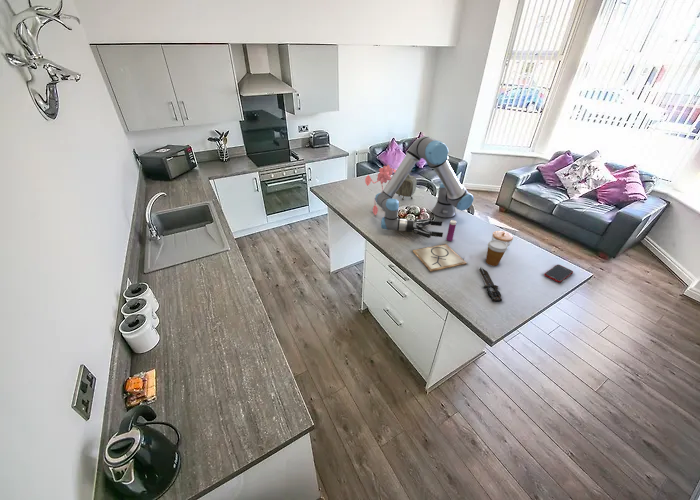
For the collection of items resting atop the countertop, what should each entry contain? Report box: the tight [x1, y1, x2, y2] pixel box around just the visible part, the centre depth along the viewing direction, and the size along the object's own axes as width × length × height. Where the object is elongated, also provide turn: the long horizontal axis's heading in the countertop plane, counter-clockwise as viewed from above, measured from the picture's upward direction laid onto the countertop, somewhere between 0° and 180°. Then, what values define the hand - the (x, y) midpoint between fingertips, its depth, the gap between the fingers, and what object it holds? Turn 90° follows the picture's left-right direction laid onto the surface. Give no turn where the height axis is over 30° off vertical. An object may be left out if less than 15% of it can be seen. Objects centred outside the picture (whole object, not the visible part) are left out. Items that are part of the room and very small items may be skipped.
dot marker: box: [446, 219, 457, 243], centre depth 172 cm, size 4×4×13 cm
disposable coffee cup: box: [485, 239, 509, 267], centre depth 153 cm, size 10×10×12 cm
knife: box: [478, 267, 503, 303], centre depth 141 cm, size 25×6×1 cm, turn 171°
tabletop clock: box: [395, 169, 418, 201], centre depth 219 cm, size 14×9×25 cm, turn 58°
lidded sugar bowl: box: [491, 230, 514, 248], centre depth 167 cm, size 11×11×9 cm
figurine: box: [364, 164, 397, 217], centre depth 194 cm, size 15×26×35 cm, turn 118°
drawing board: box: [412, 243, 468, 273], centre depth 160 cm, size 22×20×1 cm
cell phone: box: [543, 264, 574, 283], centre depth 147 cm, size 8×15×1 cm, turn 124°
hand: (442, 229), depth 172 cm, fingers open, 13 cm apart
